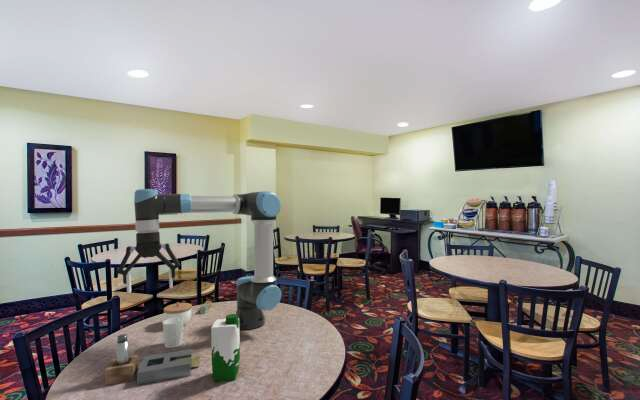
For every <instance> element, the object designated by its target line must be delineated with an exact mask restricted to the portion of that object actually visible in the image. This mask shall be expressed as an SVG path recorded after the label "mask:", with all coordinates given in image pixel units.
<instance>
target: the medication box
mask: <svg viewBox="0 0 640 400" xmlns="http://www.w3.org/2000/svg"><path fill="white" fill-rule="evenodd" d="M211 307H212V301H211V300H206V301H205V302H204V303H203V304H202V305H201V307H200V309H199V314H201V315H203V314H206V313H207V312H208V311H209V309H210V308H211Z"/></svg>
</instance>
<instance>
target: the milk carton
mask: <svg viewBox="0 0 640 400" xmlns="http://www.w3.org/2000/svg"><path fill="white" fill-rule="evenodd" d="M210 332H211V335H210V336H211V337H210V339H211V341H210V342H211V343H210V344H211V369H212V370H211V372H212V380H213V382H222V381H224V382H225V381H227V382H228V381H236V379H237V375H238V373H239V370H240V363H241V362H240V361H241V360H240V359H241V353H240V352H241V351H240V350H241V345H240V344H241V342H240V341H241V340H240V336H241V335H240V329H239V318H238V315H237V314H236V313H232V314H230V313H229V314H227V315H226V316H225V318H222V319H221V318H220V319H216V320H215V321H214V323H213V324H212V326H211V328H210Z"/></svg>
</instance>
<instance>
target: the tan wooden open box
mask: <svg viewBox="0 0 640 400" xmlns="http://www.w3.org/2000/svg"><path fill="white" fill-rule="evenodd" d="M138 370H139V354H134V355H129V364H126V365H120V366H116V357H115V358H111V360H110V361H109V363H108V365H107V366H106V368H105V370H104V376H105V377H104V379H105V380H104V383H105V384H104V385H105V386H109V385H114V384H120V383H125V382H131V381H134V379H135V377H136V376H137V372H138Z"/></svg>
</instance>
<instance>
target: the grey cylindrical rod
mask: <svg viewBox="0 0 640 400" xmlns="http://www.w3.org/2000/svg"><path fill="white" fill-rule="evenodd" d="M129 345H130V344H129V339H128V334H127V333H121V334H119V335H117V341H116V343H115V351H116V352H115V353H116V354H115V355H116V357H115V358H116V366H120V365H126V364H129V356H130V354H129V353H130V352H129V351H130V349H129Z"/></svg>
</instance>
